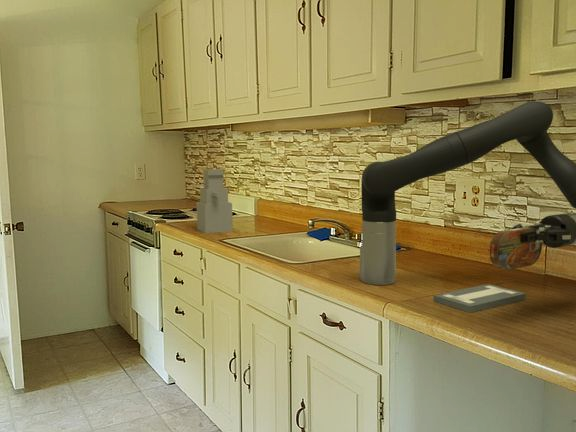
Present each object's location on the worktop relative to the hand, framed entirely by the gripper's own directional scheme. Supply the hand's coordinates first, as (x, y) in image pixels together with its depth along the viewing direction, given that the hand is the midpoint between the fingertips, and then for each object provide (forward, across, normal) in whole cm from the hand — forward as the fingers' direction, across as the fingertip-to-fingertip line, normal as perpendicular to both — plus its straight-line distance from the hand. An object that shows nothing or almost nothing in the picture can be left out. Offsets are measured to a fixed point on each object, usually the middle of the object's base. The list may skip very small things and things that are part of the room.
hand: (516, 237), depth 118 cm
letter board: (-4, -12, +18) cm, 22 cm away
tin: (0, 0, +7) cm, 7 cm away
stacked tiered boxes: (+3, -157, +18) cm, 158 cm away
